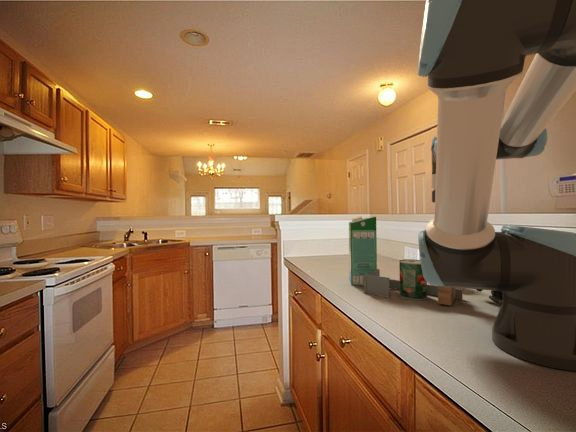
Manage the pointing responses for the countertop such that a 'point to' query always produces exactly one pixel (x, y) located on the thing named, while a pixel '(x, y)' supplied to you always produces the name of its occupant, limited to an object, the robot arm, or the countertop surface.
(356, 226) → the milk carton
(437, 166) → the robot arm
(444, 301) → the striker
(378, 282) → the frame
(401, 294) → the canned tomato
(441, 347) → the countertop surface
